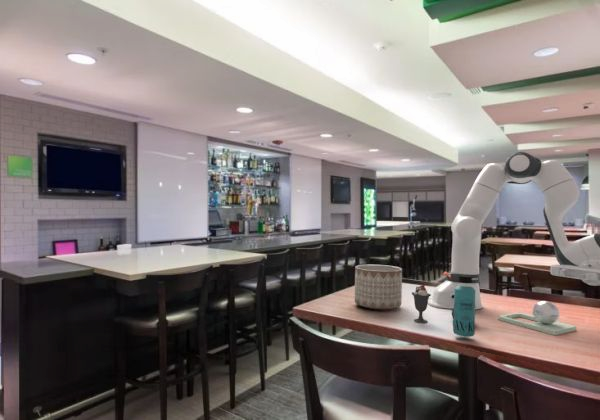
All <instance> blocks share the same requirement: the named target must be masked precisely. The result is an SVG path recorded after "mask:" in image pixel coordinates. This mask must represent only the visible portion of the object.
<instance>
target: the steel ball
mask: <svg viewBox="0 0 600 420" xmlns="http://www.w3.org/2000/svg"><path fill="white" fill-rule="evenodd" d="M532 316H534V317H535V319H536V320H538V321H539V322H541V323H543V324H552V323H555V322H558V321H559V319H560V311H559V308H558V307H557V306H556V304H554V303H553V302H552V301H547V300H541V301H540V300H539V301H538V302H536V303H535V304H533V306H532Z"/></svg>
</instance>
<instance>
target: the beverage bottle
mask: <svg viewBox="0 0 600 420" xmlns="http://www.w3.org/2000/svg"><path fill="white" fill-rule="evenodd" d="M458 282H461V283H472V276H468V275H459V278H458ZM475 292H476V291H475V289H474V288H473V287H471V286H466V285H458V286H457V287H455V288H454V306H453V307H454V319H453V318H452V332H453V334H454V335H457V336H460V337H464V338H466V337H467V338H469V337H471V338H472V337H474V336H475V334H476V333H475V332H476V310H475V306H476V305H475Z"/></svg>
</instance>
